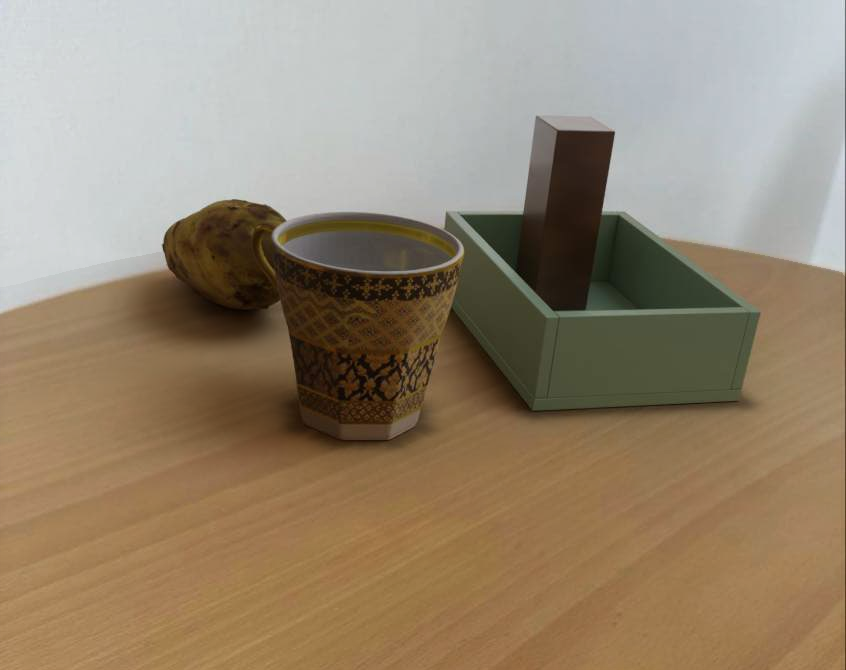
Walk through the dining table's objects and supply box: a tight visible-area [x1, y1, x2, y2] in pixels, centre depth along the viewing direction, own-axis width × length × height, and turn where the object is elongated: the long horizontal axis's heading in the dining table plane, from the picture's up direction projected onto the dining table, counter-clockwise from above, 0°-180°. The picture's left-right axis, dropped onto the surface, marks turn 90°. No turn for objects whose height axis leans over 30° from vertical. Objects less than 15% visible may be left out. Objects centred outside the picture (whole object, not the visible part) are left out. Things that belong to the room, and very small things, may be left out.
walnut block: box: [516, 114, 616, 311], centre depth 78 cm, size 4×4×12 cm
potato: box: [161, 198, 287, 311], centre depth 74 cm, size 8×13×8 cm, turn 13°
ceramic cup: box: [251, 211, 464, 441], centre depth 63 cm, size 13×10×10 cm
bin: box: [443, 210, 762, 412], centre depth 75 cm, size 14×20×6 cm
